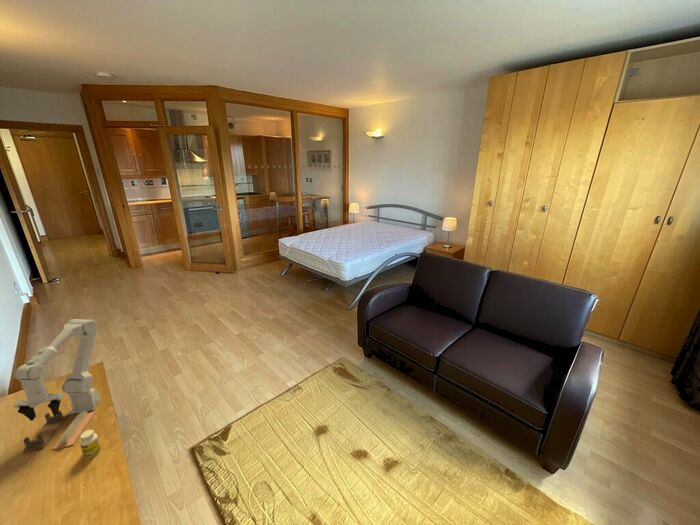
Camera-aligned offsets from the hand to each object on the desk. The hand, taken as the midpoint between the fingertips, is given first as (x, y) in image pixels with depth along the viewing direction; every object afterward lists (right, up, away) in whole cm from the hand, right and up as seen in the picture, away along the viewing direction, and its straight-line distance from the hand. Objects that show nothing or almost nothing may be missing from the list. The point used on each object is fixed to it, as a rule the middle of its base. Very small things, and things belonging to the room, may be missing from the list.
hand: (45, 416), depth 120 cm
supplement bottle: (+25, -12, -5) cm, 28 cm away
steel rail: (+8, -7, +4) cm, 12 cm away
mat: (+8, -9, +5) cm, 13 cm away
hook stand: (-2, -9, +2) cm, 10 cm away
